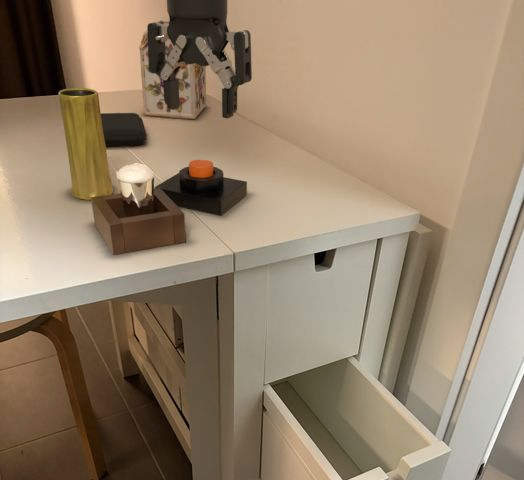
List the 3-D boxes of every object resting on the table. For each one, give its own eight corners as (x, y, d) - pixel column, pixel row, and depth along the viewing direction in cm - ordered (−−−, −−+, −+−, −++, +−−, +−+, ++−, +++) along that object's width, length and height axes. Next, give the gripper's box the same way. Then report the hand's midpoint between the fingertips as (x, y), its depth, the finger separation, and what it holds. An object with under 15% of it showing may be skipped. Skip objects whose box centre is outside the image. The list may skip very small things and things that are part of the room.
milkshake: (122, 225, 75) (114, 151, 69) (161, 228, 75) (156, 154, 69) (113, 240, 72) (103, 163, 66) (154, 243, 72) (147, 166, 66)
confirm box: (155, 201, 83) (153, 175, 80) (184, 182, 89) (183, 158, 87) (221, 215, 80) (221, 188, 77) (246, 195, 86) (247, 169, 84)
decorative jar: (143, 116, 121) (135, 20, 110) (158, 103, 130) (152, 14, 119) (196, 120, 120) (194, 24, 109) (207, 107, 129) (206, 18, 118)
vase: (96, 203, 81) (81, 99, 73) (63, 195, 83) (44, 93, 75) (121, 190, 86) (110, 90, 77) (89, 183, 88) (75, 85, 79)
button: (184, 176, 82) (184, 164, 80) (196, 169, 84) (196, 157, 83) (206, 180, 80) (206, 168, 79) (217, 173, 83) (217, 161, 82)
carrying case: (89, 127, 112) (89, 149, 101) (87, 111, 110) (86, 132, 99) (142, 126, 115) (148, 147, 103) (141, 110, 113) (146, 130, 101)
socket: (113, 255, 68) (109, 225, 66) (94, 225, 75) (90, 197, 73) (185, 242, 72) (184, 213, 70) (161, 215, 79) (159, 187, 76)
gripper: (128, -32, 66) (141, 112, 76) (235, -25, 62) (235, 126, 72) (161, -33, 72) (170, 101, 82) (262, -27, 68) (258, 113, 77)
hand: (200, 112), depth 77 cm, fingers open, 8 cm apart
